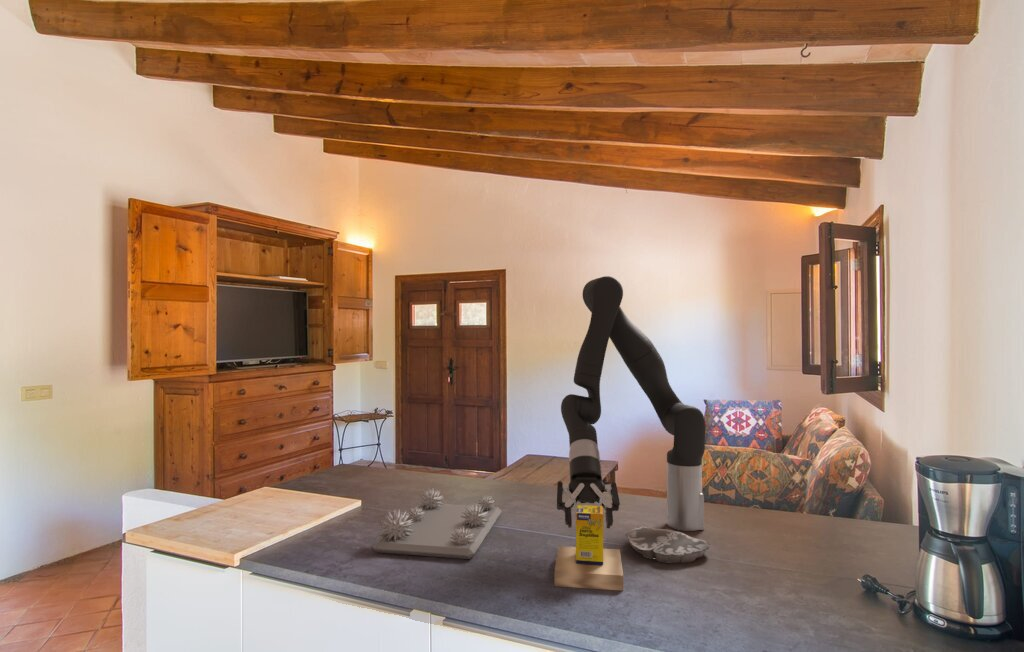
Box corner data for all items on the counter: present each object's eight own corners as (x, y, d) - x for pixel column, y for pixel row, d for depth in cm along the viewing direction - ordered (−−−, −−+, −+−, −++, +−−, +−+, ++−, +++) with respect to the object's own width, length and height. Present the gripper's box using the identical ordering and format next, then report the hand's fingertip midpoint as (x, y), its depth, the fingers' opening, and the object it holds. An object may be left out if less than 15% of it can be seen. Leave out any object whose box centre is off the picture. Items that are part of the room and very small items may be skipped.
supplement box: (603, 566, 114) (603, 513, 114) (575, 564, 115) (575, 512, 115) (603, 555, 120) (603, 505, 120) (576, 553, 121) (576, 504, 121)
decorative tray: (472, 564, 123) (473, 520, 124) (367, 556, 128) (367, 514, 128) (502, 516, 158) (502, 482, 158) (418, 511, 162) (418, 477, 163)
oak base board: (619, 562, 123) (619, 549, 123) (623, 590, 109) (623, 575, 109) (558, 559, 125) (558, 546, 125) (554, 585, 111) (554, 571, 111)
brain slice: (611, 554, 129) (611, 542, 129) (640, 534, 142) (640, 523, 142) (693, 576, 117) (693, 562, 117) (716, 552, 130) (716, 539, 130)
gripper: (555, 453, 129) (557, 517, 117) (615, 454, 128) (623, 518, 116) (555, 471, 134) (556, 533, 122) (612, 471, 133) (620, 534, 122)
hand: (589, 526), depth 119 cm, fingers open, 8 cm apart
